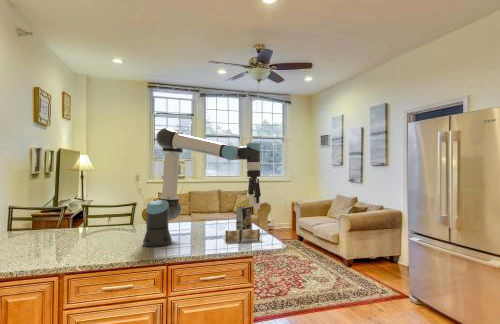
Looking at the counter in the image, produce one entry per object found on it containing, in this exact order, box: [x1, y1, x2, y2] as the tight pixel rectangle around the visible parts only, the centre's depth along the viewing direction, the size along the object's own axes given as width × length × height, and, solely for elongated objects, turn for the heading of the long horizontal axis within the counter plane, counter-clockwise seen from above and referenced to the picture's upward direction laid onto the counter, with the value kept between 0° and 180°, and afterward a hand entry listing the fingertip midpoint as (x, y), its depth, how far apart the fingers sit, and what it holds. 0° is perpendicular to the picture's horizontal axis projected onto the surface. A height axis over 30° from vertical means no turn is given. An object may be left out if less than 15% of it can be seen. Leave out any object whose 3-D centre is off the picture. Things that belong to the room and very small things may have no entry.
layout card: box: [221, 235, 261, 244], centre depth 186 cm, size 20×16×1 cm
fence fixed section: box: [224, 229, 242, 243], centre depth 180 cm, size 10×2×6 cm, turn 103°
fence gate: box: [242, 228, 261, 240], centre depth 182 cm, size 10×1×6 cm, turn 103°
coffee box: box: [235, 206, 253, 230], centre depth 206 cm, size 9×6×16 cm
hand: (254, 207), depth 179 cm, fingers open, 13 cm apart
